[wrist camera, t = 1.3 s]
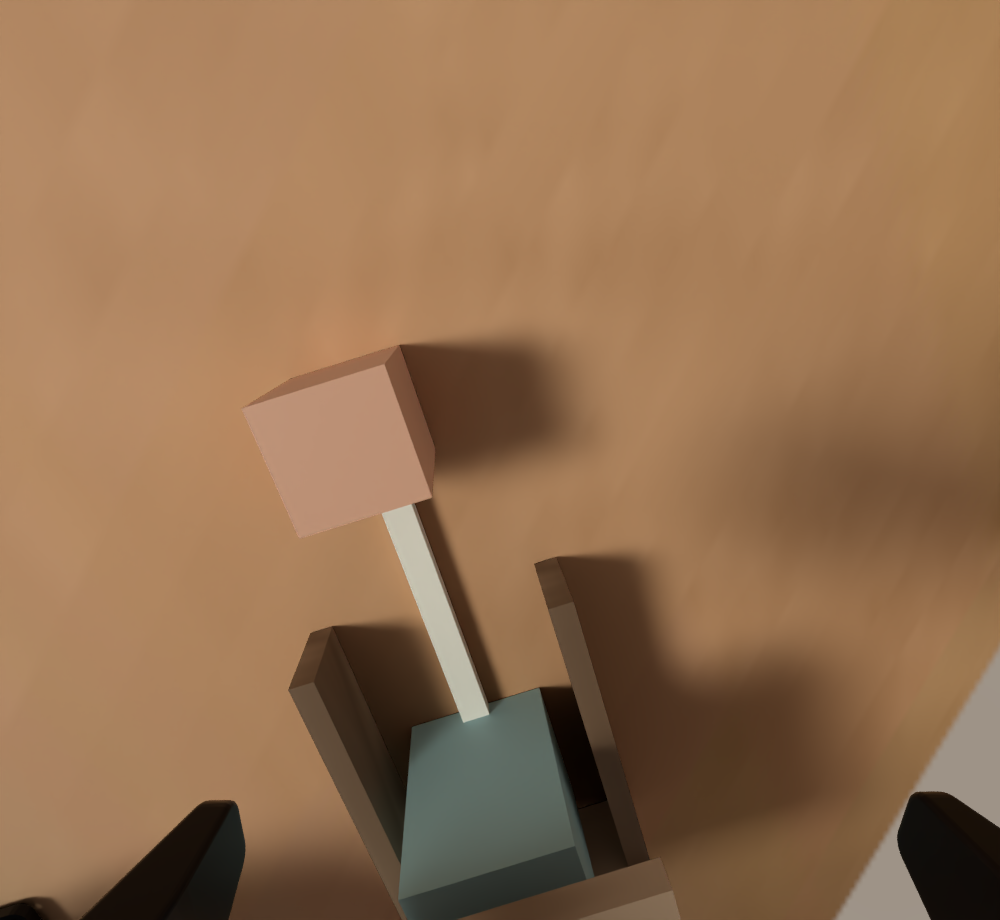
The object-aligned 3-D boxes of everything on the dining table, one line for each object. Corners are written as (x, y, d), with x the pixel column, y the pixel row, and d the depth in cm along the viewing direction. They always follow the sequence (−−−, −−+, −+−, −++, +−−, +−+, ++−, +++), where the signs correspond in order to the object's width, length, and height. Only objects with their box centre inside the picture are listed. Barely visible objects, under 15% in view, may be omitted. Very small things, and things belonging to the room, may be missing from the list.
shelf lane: (421, 873, 24) (407, 1198, 16) (310, 633, 21) (212, 884, 12) (631, 808, 24) (732, 1099, 16) (556, 557, 21) (633, 754, 12)
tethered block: (453, 823, 24) (454, 1016, 17) (267, 386, 18) (172, 439, 12) (572, 786, 24) (616, 967, 17) (422, 337, 18) (409, 365, 12)
